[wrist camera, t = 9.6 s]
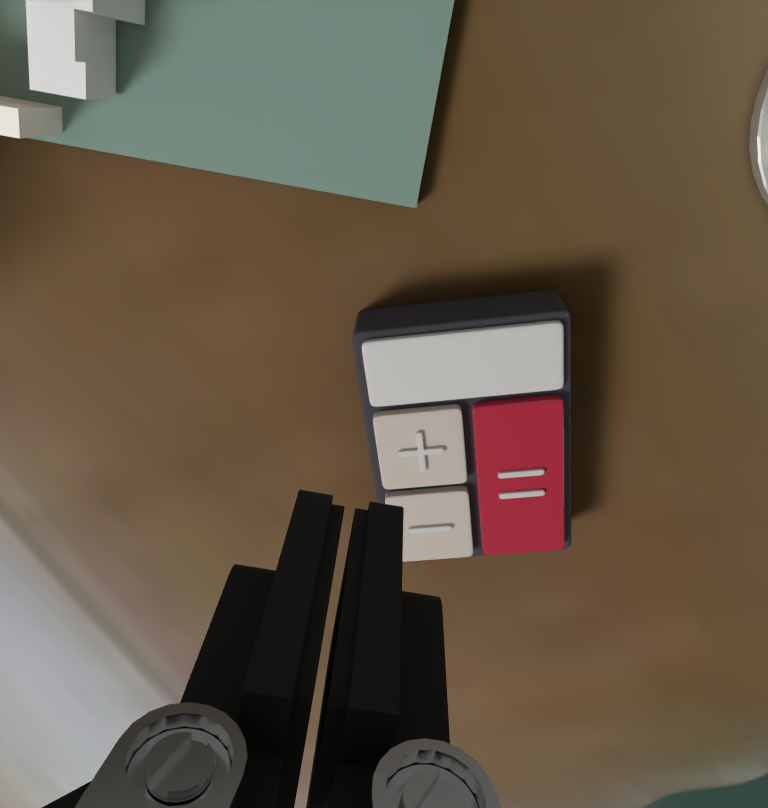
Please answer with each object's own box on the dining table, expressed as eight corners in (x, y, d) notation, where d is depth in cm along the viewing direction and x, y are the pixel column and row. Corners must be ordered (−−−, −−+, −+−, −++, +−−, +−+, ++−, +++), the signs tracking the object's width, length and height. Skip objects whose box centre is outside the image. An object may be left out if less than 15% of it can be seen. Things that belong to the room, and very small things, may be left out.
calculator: (386, 572, 40) (349, 338, 34) (388, 527, 44) (355, 309, 38) (574, 558, 40) (575, 314, 33) (560, 513, 43) (558, 287, 37)
